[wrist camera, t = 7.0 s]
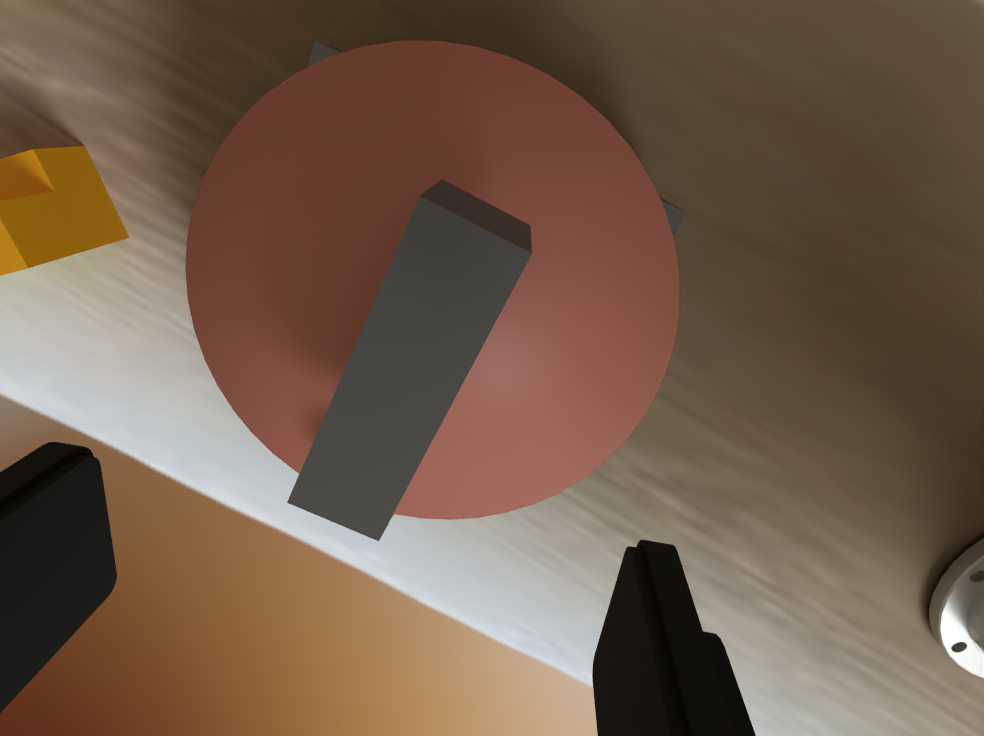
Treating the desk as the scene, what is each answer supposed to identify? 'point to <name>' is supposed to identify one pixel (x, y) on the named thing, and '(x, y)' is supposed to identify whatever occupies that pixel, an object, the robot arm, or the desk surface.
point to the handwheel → (431, 283)
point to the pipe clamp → (52, 207)
